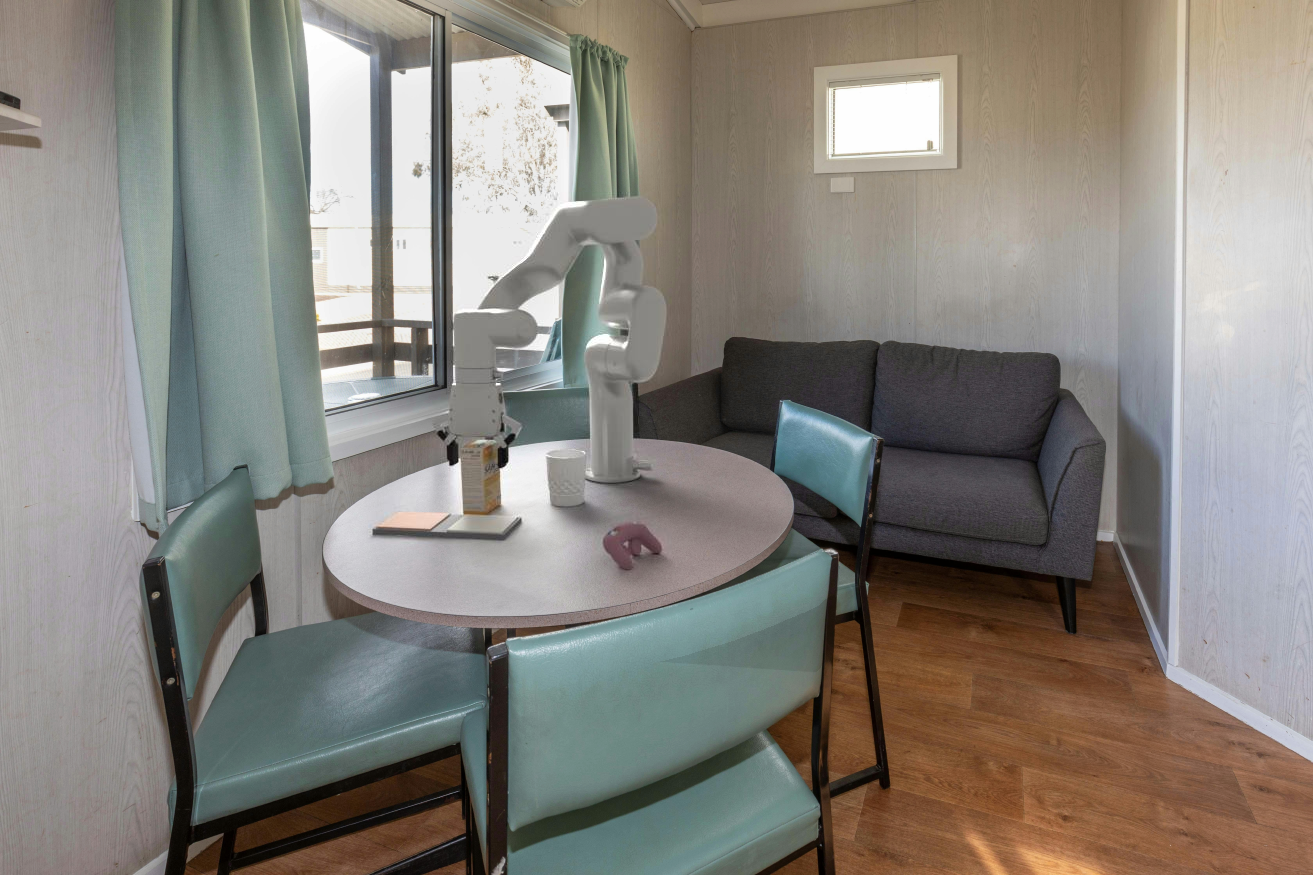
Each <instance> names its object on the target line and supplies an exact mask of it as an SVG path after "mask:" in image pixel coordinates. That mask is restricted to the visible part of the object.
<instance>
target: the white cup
mask: <svg viewBox="0 0 1313 875" xmlns="http://www.w3.org/2000/svg"><path fill="white" fill-rule="evenodd" d="M545 460H546V461H545V462H546V474H547V481H548V484H547V485H548V490H549V502H550V504H551V505H552V506H555V507H562V508H563V507H575V506H580V505H582V504H583V503H584V502H585V488H586V478H585V475H586V469H587V466H586V465H587V463H586V461H587V453H586V451H584V450H581V449H575V448H573V449H572V448H566V449H565V448H564V449H563V448H562V449H553V450H551V451H547V452H546V453H545Z"/></svg>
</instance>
